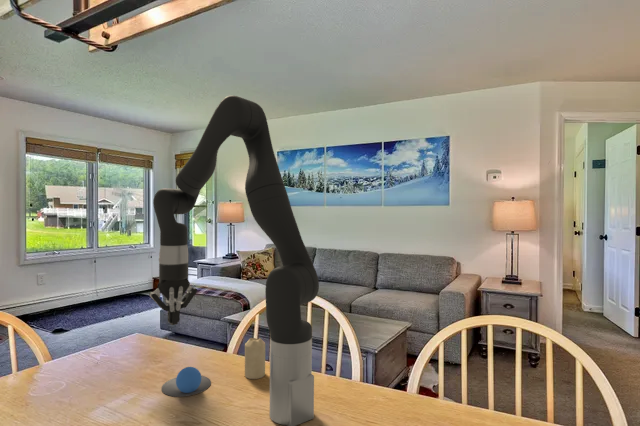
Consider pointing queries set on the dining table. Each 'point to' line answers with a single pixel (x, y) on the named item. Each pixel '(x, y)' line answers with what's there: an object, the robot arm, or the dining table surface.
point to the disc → (172, 390)
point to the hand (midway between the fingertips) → (173, 324)
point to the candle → (254, 358)
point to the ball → (188, 379)
